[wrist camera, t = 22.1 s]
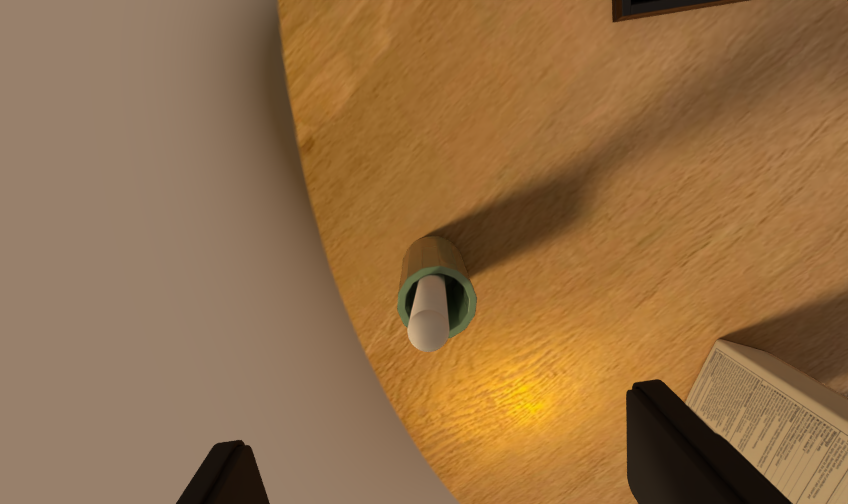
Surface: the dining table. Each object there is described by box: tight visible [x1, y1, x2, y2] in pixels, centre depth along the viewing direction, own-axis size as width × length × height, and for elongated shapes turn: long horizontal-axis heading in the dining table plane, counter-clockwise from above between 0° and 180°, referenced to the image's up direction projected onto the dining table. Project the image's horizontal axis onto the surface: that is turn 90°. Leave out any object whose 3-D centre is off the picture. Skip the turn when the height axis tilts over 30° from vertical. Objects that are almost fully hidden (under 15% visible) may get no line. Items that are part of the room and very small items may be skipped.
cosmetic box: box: [685, 339, 848, 504], centre depth 24 cm, size 6×4×12 cm
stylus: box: [408, 273, 449, 352], centre depth 20 cm, size 1×1×14 cm
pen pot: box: [397, 236, 477, 338], centre depth 24 cm, size 4×4×7 cm
